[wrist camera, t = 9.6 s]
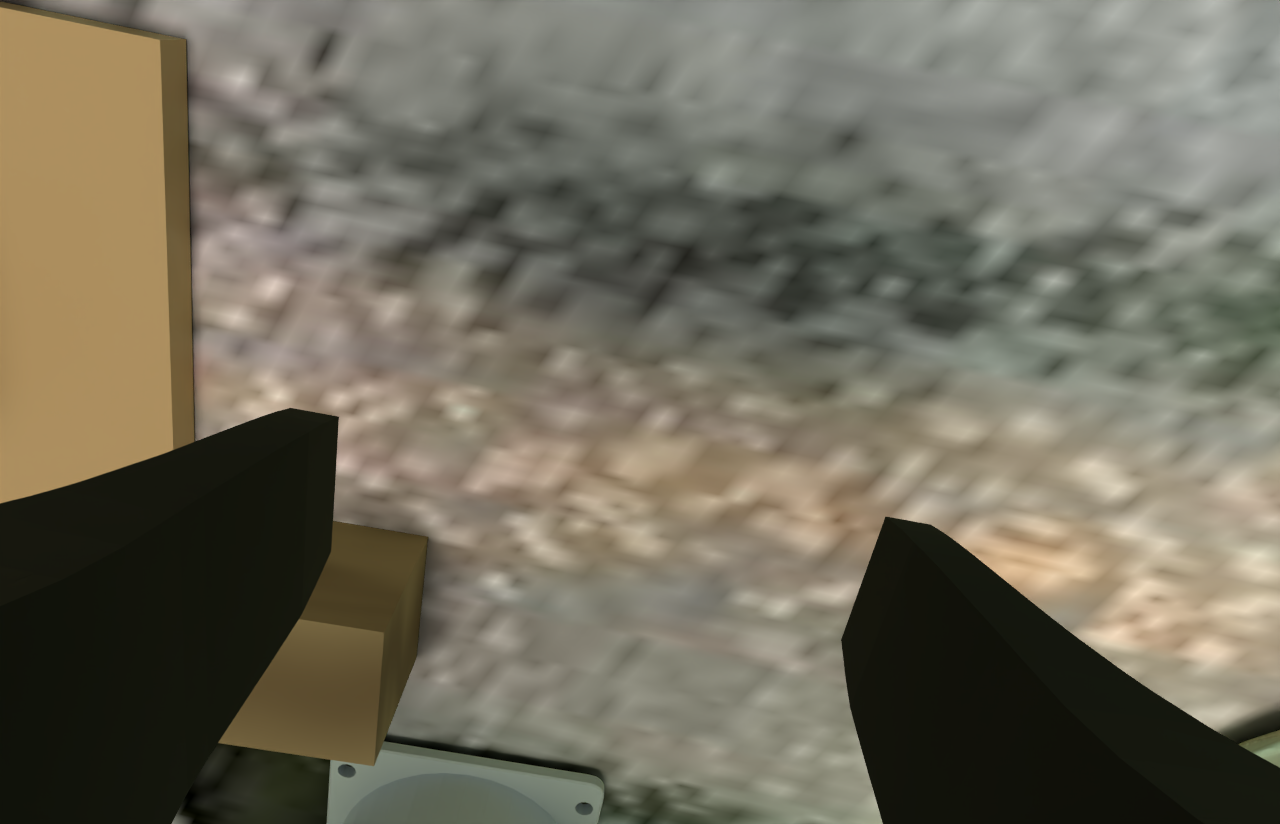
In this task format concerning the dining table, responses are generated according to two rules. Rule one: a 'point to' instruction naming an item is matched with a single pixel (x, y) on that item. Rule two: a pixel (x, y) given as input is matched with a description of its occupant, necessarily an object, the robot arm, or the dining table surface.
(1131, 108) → the dining table surface
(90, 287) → the tan flat square slab
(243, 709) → the walnut block
